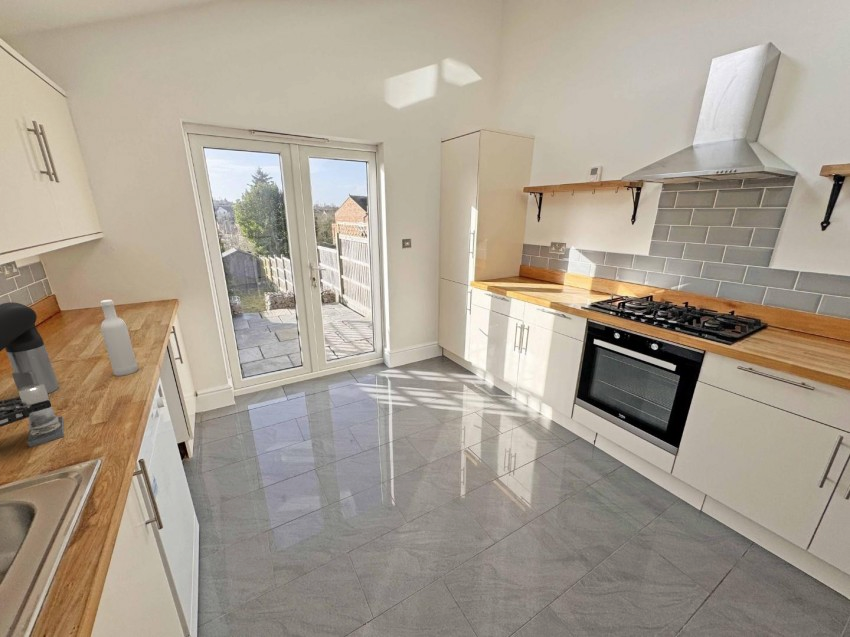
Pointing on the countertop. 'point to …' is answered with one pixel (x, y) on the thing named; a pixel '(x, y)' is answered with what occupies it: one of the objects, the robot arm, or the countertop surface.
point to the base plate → (46, 433)
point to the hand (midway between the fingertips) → (49, 400)
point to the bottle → (117, 341)
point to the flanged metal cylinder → (40, 417)
